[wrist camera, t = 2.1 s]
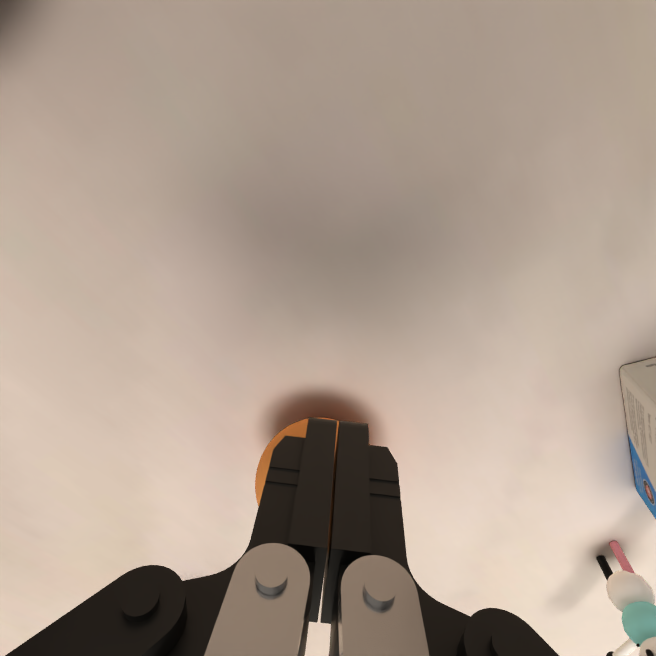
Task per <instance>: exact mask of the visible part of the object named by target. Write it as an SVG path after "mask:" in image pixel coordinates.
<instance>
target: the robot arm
mask: <svg viewBox="0 0 656 656" xmlns="http://www.w3.org/2000/svg"><path fill="white" fill-rule="evenodd" d="M336 429H337V420H330V419H321V418H312V417H309V419H308V425H307V431H306V437H305V438H303V437H294V436H286V435H285V436H284V438H283V439H282V440H281V441H280V442H279V443H278V444H277V446H276V447H275V448H274V449H273V452H272V456H271V460H270V464H269V470H268V472H267V476H266V480H265V485H264V488H263V492H262V496H261V500H260V504H259V508H258V512H257V516H256V520H255V524H254V528H253V532H252V536H251V540H250V543H249V546H248V547H247V549H246V551H245V553H244V554H243V555H242V557H241V558H240V559H239V560H238V561H237V562H236V563H234V564H233V565H232V566H231V567H229V568H227V569H226V570H224V571H221V572H219V573H217V574H213V575H210V576H205V577H200V578H195V579H190V580H185V581H182V580H181V579H180V577H179V576H178V575H177V574H176V573H175V572H174V571H172V570H171V569H169V568H166V567H164V566H158V565H149V566H142V567H139V568H136V569H133V570H131V571H129V572H127V573H125V574H124V575H122V576H121V577H119V578H118V579H116V580H115V581H113V582H112V583H110V584H109V585H107V586H106V587H105V588H103V589H102V590H100V591H99V592H97V593H96V594H94V595H93V596H91V597H90V598H89V599H87V600H86V601H84V602H83V603H81V604H80V605H78V606H77V607H75V608H74V609H73V610H71V611H70V612H68V613H67V614H65V615H64V616H62V617H61V618H59V619H58V620H57V621H55V622H54V623H52V624H51V625H49V626H48V627H46V628H45V629H43V630H42V631H40V632H39V633H38V634H36V635H35V636H33V637H32V638H30V639H29V640H27V641H26V642H24V643H23V644H22V645H20V646H19V647H17V648H16V649H14V650H13V651H11V652H10V653H8V654H7V655H6V656H304V655H305V649H306V641H307V633H308V625H309V621H310V622H317V621H318V613H319V606H320V599H321V592H322V585H323V597H322V610H321V623H329V624H331V634H330V651H329V656H559V655H558V654H557V653H556V652H555V651H554V650H553V649H552V648H551V647H550V646H549V645H548V644H547V643H546V642H545V641H544V640H543V639H542V638H541V637H540V636H539V635H538V634H537V633H536V632H535V631H534V630H533V629H532V628H531V627H530V626H529V625H528V624H527V623H526V622H525V621H523V620H522V619H521V618H519V617H518V616H516V615H514V614H512V613H510V612H508V611H505V610H502V609H497V608H486V609H482V610H479V611H477V612H476V613H474V614H473V615H472V616H471V617H470V616H468V615H466V614H463V613H461V612H459V611H457V610H455V609H453V608H451V607H448V606H446V605H444V604H442V603H440V602H438V601H436V600H435V599H433V598H432V597H431V596H429V595H428V594H427V593H426V592H425V591H424V590H423V589H422V588H421V587H420V586H419V585H418V584H417V582H416V581H415V579H414V578H413V576H412V574H411V572H410V570H409V567H408V563H407V557H406V547H405V537H404V527H403V517H402V507H401V501H400V487H399V477H398V467H397V462H396V461H395V459H394V458H393V456H392V454H391V453H390V451H389V449H388V448H387V447H381V446H373V445H369V436H368V424H365V423H357V422H348V421H339V426H338V434H337V441H336ZM335 442H336V449H335ZM334 456H335V457H334ZM323 578H324V584H323Z"/></svg>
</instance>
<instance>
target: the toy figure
mask: <svg viewBox="0 0 656 656" xmlns="http://www.w3.org/2000/svg"><path fill="white" fill-rule="evenodd" d="M609 545H610V547H611V549H612V550H613V552H614V554H615V556H616V558H617V560H618V562H619V563H620V565H621V567H622V569H623V570H620V571H616V572H615V573H613V572H612V570H611V568H610V567H609V565H608V563H607V561H606V559H605V557H604V556H598V557H597V561H598V563H599V565H600V567H601V569H602V571H603V573H604V575H605V577H606V579H607V585H606V588H607V593H608V597H609V599H610V600H611V602H612V603H613V604H614V606H615V607H616V608H617V609H619V610H620V611H622V612H623V614H622V623H623V627H624V630H625V632H626V633H627V635H628V636H629V639H628V640H627V641H626V642H625V643H624V644H622V645H621V646H620V647H619V648H618V649H617V650H616V651H615V652H608V653H607V655H606V656H628V655H629V654H630V653H631V652H633V651H634V650H635V649H636V648H637V647H640V651H639V656H656V606H655V605H654V601H655V599H654V594H653V591H652V588H651V587H650V585H649V584H648V583H647V582H646V581H645V580H644V578H643V577H641V576H640V575H638V574H636V573H634V571H633V569H632V567H631V565H630V564H629V562H628V560H627V558H626V556H625V555H624V553H623V551H622V549H621V548H620V546H619V544H618V542H617V541H612V542H610V543H609Z"/></svg>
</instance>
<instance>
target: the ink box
mask: <svg viewBox="0 0 656 656" xmlns="http://www.w3.org/2000/svg"><path fill="white" fill-rule="evenodd" d="M620 379H621V387H622V393H623V399H624V407H625V414H626V421H627V428H628V436H629V442H630V449H631V456H632V463H633V470H634V477H635V484H636V490H637V492H638V493H639V495H640V496H641V498H642V499H643V501H644V502H645V504H646V505H647V507H648V508H649V510H650V511H651V513H652V514H653V516H654V517H655V519H656V358H652V359H648V360H644V361H640V362H636V363H632V364H627V365H624V366H622V367H621V369H620Z"/></svg>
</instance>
